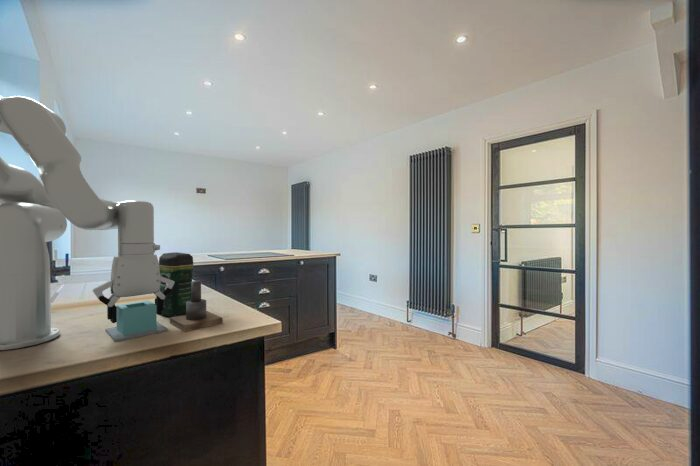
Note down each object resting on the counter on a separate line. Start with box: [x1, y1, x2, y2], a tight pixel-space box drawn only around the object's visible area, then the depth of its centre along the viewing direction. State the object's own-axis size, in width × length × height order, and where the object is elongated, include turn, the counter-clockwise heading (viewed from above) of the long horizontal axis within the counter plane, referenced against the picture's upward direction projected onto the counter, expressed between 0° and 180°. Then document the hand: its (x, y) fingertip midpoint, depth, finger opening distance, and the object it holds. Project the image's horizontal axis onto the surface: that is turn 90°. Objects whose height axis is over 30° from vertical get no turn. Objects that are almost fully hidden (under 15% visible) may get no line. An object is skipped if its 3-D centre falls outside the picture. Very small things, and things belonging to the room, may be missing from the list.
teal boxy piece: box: [115, 300, 158, 335], centre depth 81 cm, size 7×7×6 cm
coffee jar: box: [158, 251, 195, 318], centre depth 96 cm, size 10×8×19 cm
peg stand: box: [169, 280, 223, 332], centre depth 87 cm, size 10×10×12 cm
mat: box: [104, 321, 169, 343], centre depth 81 cm, size 11×11×1 cm
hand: (136, 317), depth 81 cm, fingers open, 9 cm apart
